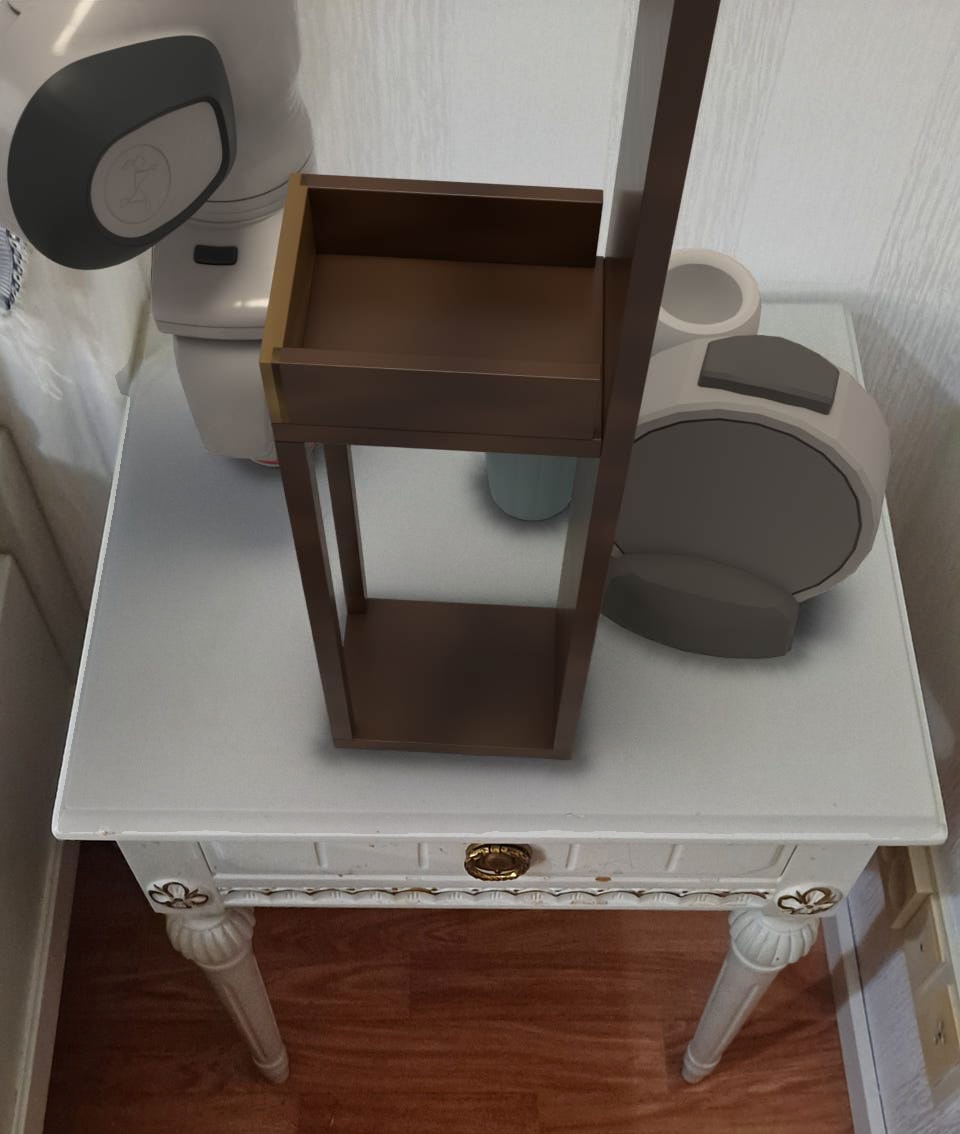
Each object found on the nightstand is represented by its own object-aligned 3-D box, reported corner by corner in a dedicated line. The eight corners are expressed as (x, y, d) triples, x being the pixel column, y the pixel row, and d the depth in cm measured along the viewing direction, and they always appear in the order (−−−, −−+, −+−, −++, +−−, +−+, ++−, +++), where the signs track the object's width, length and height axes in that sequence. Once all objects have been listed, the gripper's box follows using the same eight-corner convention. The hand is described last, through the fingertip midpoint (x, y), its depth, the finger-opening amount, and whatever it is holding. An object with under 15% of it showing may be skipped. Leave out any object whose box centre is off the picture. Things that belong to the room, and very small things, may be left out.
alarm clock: (839, 551, 75) (951, 320, 58) (814, 682, 71) (926, 475, 54) (595, 494, 77) (636, 252, 60) (558, 619, 73) (589, 398, 56)
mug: (611, 338, 82) (627, 240, 75) (731, 336, 82) (758, 238, 75) (627, 473, 77) (646, 382, 70) (754, 471, 78) (785, 380, 70)
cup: (614, 501, 76) (635, 378, 67) (518, 554, 74) (526, 436, 65) (546, 426, 79) (558, 297, 69) (451, 476, 77) (450, 350, 67)
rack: (333, 747, 69) (180, -32, 30) (349, 605, 73) (232, -243, 34) (571, 760, 69) (721, -3, 30) (574, 617, 73) (710, -218, 34)
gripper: (206, 62, 65) (248, 272, 78) (143, 333, 57) (201, 518, 70) (318, 68, 65) (342, 277, 78) (271, 339, 57) (306, 524, 70)
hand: (275, 393), depth 74 cm, fingers open, 8 cm apart
